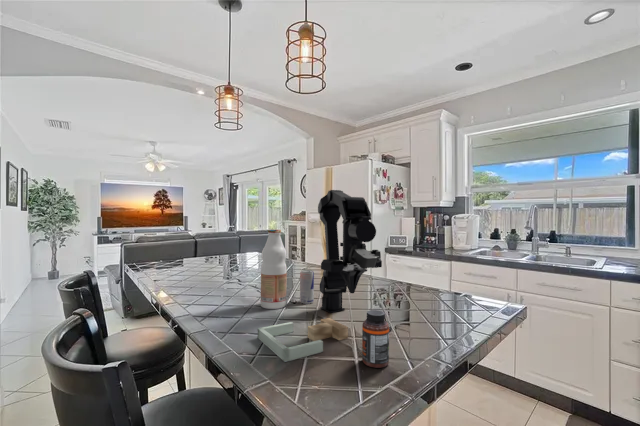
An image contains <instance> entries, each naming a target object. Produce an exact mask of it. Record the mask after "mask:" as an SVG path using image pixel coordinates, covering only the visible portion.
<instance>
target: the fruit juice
mask: <svg viewBox="0 0 640 426" xmlns="http://www.w3.org/2000/svg"><path fill="white" fill-rule="evenodd" d="M267 235H268V237H267V239H266V242H265V245H264V247H263V248H262V251H261V258H262V263H261V268H260V307H262V308H263V309H267V310H277V309H282V308H284V307H286V305H287V281H288V280H287V277H288V274H287V273H288V268H287V264H286V259H287V254H288V253H287V250H286V248H285V246H284V243H283V239H282V237H281V235H282V229H268V230H267Z"/></svg>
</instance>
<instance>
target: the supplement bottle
mask: <svg viewBox="0 0 640 426" xmlns="http://www.w3.org/2000/svg"><path fill="white" fill-rule="evenodd" d="M385 315H386V313H385V312H384V311H382V310H380V309H379V310H377V309H369V310H368V311H366V319H365V320H364V321H362V326H361V327H362V329H361V331H362V339H361V341H362V343H361V359H362V363H364V365H366V366H367V367H370V368H372V369H373V368H375V369H381V368H385V367H387V366H388V365H389V363H390V362H389V361H390V326H389V323H388V322H387V321H386V320H385V319H386V316H385Z"/></svg>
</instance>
